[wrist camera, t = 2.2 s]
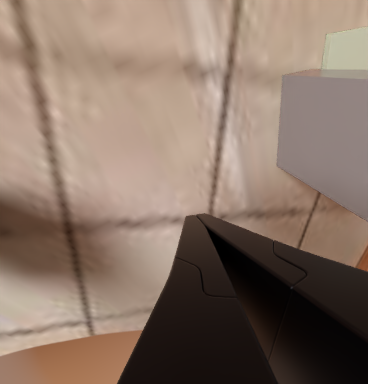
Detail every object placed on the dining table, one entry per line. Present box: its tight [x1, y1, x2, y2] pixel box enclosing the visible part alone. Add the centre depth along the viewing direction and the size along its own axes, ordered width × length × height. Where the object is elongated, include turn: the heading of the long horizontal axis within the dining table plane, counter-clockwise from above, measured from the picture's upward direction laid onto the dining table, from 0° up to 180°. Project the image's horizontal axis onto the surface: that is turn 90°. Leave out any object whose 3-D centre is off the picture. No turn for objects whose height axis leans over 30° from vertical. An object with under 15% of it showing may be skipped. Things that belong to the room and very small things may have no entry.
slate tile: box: [277, 69, 368, 222], centre depth 17 cm, size 3×9×14 cm, turn 10°
